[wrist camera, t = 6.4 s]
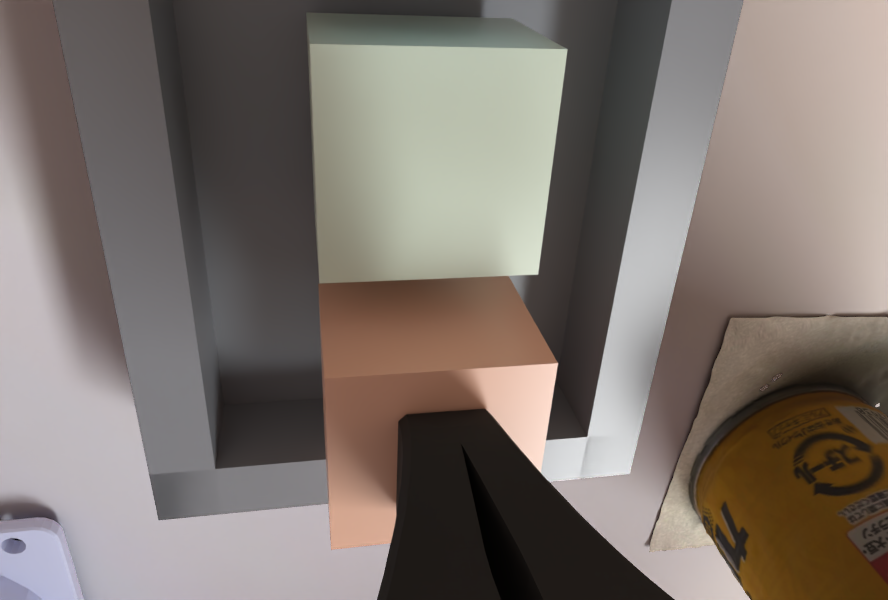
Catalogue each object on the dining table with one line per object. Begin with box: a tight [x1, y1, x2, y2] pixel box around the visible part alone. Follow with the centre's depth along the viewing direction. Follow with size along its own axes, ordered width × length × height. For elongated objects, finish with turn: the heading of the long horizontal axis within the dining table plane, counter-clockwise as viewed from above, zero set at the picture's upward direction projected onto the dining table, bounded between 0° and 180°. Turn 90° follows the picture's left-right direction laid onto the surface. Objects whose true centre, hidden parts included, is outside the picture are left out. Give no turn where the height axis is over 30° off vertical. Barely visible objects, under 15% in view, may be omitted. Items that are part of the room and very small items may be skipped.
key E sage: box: [306, 12, 568, 283], centre depth 11 cm, size 3×3×3 cm
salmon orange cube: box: [318, 276, 558, 550], centre depth 12 cm, size 3×3×3 cm
